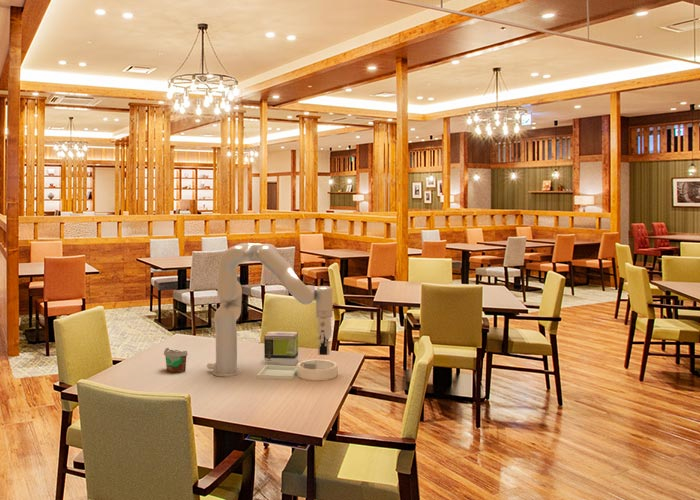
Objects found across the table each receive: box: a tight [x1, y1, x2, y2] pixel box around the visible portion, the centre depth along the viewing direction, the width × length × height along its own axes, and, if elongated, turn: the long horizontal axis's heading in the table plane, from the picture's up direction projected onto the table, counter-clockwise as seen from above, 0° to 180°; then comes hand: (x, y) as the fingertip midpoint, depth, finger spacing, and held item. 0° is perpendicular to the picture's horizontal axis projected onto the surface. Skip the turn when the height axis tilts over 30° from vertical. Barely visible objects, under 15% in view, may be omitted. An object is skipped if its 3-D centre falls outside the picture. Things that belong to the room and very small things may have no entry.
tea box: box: [263, 331, 299, 366], centre depth 298 cm, size 15×10×15 cm, turn 84°
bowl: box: [296, 358, 338, 381], centre depth 278 cm, size 18×18×5 cm
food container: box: [163, 347, 188, 374], centre depth 281 cm, size 12×6×10 cm, turn 62°
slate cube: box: [304, 361, 317, 370], centre depth 279 cm, size 5×5×5 cm
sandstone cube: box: [317, 341, 332, 356], centre depth 277 cm, size 5×5×5 cm
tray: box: [256, 364, 297, 381], centre depth 278 cm, size 16×16×2 cm
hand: (324, 352), depth 277 cm, fingers closed on sandstone cube, 5 cm apart
